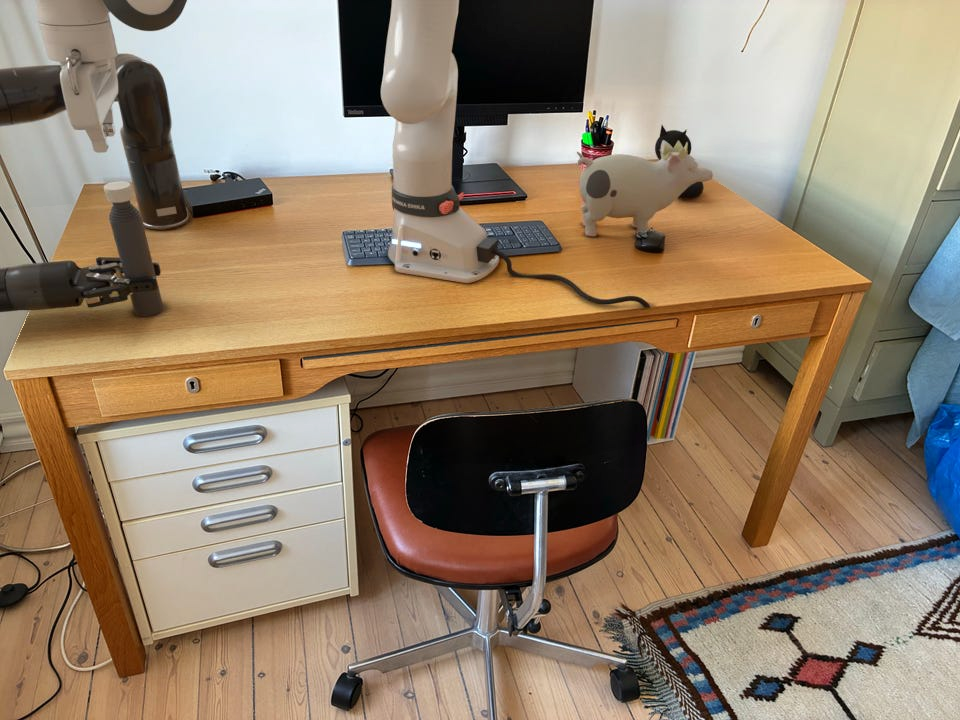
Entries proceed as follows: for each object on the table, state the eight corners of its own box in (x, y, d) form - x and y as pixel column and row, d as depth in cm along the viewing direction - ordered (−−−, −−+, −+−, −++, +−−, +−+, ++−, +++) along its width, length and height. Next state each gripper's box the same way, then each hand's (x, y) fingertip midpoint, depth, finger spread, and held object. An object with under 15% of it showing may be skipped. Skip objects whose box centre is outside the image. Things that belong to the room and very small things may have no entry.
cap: (103, 197, 111) (99, 184, 110) (129, 191, 114) (126, 179, 112) (110, 204, 109) (107, 191, 108) (137, 199, 111) (134, 186, 110)
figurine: (703, 243, 153) (724, 151, 141) (570, 238, 152) (580, 145, 141) (692, 224, 161) (711, 135, 150) (566, 219, 161) (576, 130, 150)
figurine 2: (633, 187, 180) (643, 126, 171) (662, 174, 188) (673, 116, 180) (689, 205, 171) (702, 142, 162) (717, 191, 179) (731, 131, 171)
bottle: (130, 308, 123) (97, 186, 111) (158, 300, 125) (128, 180, 113) (139, 319, 120) (106, 195, 108) (167, 311, 122) (137, 189, 110)
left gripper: (28, 286, 108) (149, 275, 112) (47, 246, 119) (157, 237, 123) (43, 328, 112) (159, 316, 116) (60, 285, 123) (166, 276, 128)
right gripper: (93, 59, 91) (119, 165, 99) (114, 29, 107) (135, 122, 115) (38, 59, 90) (69, 167, 97) (68, 30, 106) (93, 124, 114)
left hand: (157, 275), depth 120 cm, fingers closed on bottle, 4 cm apart
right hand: (105, 143), depth 106 cm, fingers open, 6 cm apart
